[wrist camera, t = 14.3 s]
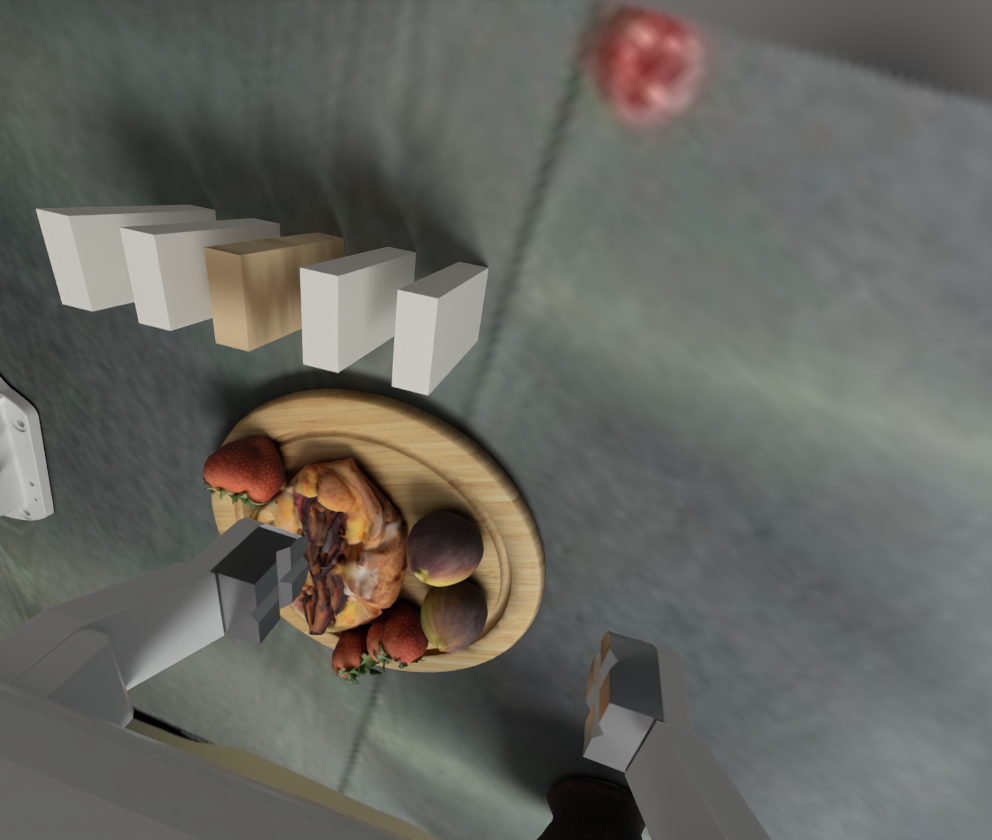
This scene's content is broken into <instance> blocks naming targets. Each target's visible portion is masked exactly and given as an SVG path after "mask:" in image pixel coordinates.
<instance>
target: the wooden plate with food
mask: <svg viewBox="0 0 992 840" xmlns="http://www.w3.org/2000/svg"><path fill="white" fill-rule="evenodd" d="M203 472H204V478H203V480H204V484H205V485H208V486H211V487H208V488H206V489H209V490H210V492H211V500H212V507H213V512H214V516H215V521H216V524H217V527H218V530H219V533H220V536H221V535H222V534H223V533H224V532H225V531H226V530H228V529H229V528H230V527H231V526H232V525H233V524H235V523H236V522H237V521H238V520H240V519H243V518H246V517H248V518H251V519H254V520H257V521H260V522H263V523H266V524H269V525H272V526H275V527H278V528H281V529H284V530H287V531H289V532H292V533H295V534H298V535H301V536H304V537H306V538H307V541H308V550H307V551H306V552H305V553H304V554H303V556H304V558H305V559H306V560H307V562H308V575H307V580H306V582H305V584H304V587H303V589H302V591H301V593H300V594H299V596H298V597H297V598H296V599H295V601H294V602H293V603H292V604H290V605H288V606H286V607H284V608H281V609H280V616H282V617H283V618H284V619H285V620H287V621H288V622H289V623H291V624H292V625H293V626H295V627H296V628H297V629H299V630H300V631H302V632H303V633H305V634H307V635H308V636H310V637H312V638H313V639H315V640H317V641H318V642H320V643H322V644H324V645H326V646H328V647H330V648H332V649H334V652H333V655H332V667H333V670H334V671H335V673H336V676H339V677H345V680H347V681H349V680H350V679H351V681H352V682H353V684H359V683H358V681H357V680H356V679H357V677H358V676H359V675H366V674H367V673H366V671H369V670H370V672H369V673H370V675H375V674H377V675H380V674H382V673H381V672H379V671H377V670H375V669H371V668H373V667H374V666H375V665H378V666H382V668H383V671H384V672H385V670H384V667H386V668H390V669H395V670H401V671H410V672H443V671H453V670H459V669H465V668H468V667H472V666H475V665H478V664H481V663H484V662H486V661H489V660H491V659H493V658H495V657H497V656H498V655H500V654H502V653H503V652H505V651H506V650H508V649H509V648H511V647H512V646H513V645H514V644H515V643H516V642H517V641H518V640H519V639H520V638H521V637H522V636H523V634H524V633H525V632H526V631H527V629H528V628H529V627H530V626H531V624H532V622H533V620H534V619H535V617H536V615H537V613H538V611H539V608H540V605H541V601H542V598H543V593H544V588H545V579H546V565H545V553H544V548H543V544H542V541H541V537H540V533H539V530H538V528H537V525H536V522H535V520H534V518H533V515H532V513H531V511H530V509H529V507H528V505H527V504H526V502H525V500H524V498H523V497H522V495H521V494H520V492H519V491H518V489H517V488H516V486H515V485H514V483H513V482H512V481H511V479H510V478H509V477H508V476H507V475H506V473H505V472H504V471H503V470H502V468H501V467H500V466H499V465H498V464H497V463H496V462H495V461H494V460H493V459H492V458H491V457H490V456H489V455H488V454H487V453H486V452H485V451H484V450H483V449H482V448H480V447H479V446H478V445H477V444H476V443H475V442H474V441H473V440H471V439H470V438H469V437H467V436H466V435H464V434H463V433H462V432H460V431H459V430H457V429H456V428H454V427H452V426H451V425H449V424H448V423H446V422H444V421H442V420H440V419H439V418H437V417H435V416H433V415H432V414H429V413H427V412H425V411H423V410H421V409H419V408H416V407H414V406H412V405H410V404H407V403H404V402H402V401H399V400H396V399H393V398H390V397H386V396H382V395H378V394H374V393H370V392H364V391H358V390H349V389H313V390H304V391H300V392H295V393H291V394H287V395H284V396H281V397H278V398H275V399H273V400H271V401H269V402H267V403H265V404H263V405H261V406H259V407H258V408H256V409H254V410H253V411H251V412H250V413H249V414H248V415H247V416H245V417H244V418H243V419H242V420H240V421H239V422H238V423H237V424H236V426H235V427H234V428H233V429H232V431H231V432H230V433H229V435H228V436H227V437H226V439H225V441H224V442H223V444H222V446H221V447H220V448H219V449H218V450H217V451H216V452H215V453H214V454H212V455H211V456H209V458H208V459H207V460H206V462H205V465H204V470H203ZM369 666H370V667H371V668H369ZM347 681H346V682H347Z"/></svg>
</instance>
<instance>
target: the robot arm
mask: <svg viewBox="0 0 992 840" xmlns="http://www.w3.org/2000/svg"><path fill="white" fill-rule="evenodd" d="M53 513H54V508H53V502H52V496H51V489H50V483H49V477H48V471H47V465H46V459H45V453H44V447H43V441H42V435H41V429H40V422H39V417H38V413H37V411H36V410H35V408H34V407H33V406H32V405H31V404H30V403H29V402H28V401H27V400H25V399H24V398H23V397H22V396H20V395H19V394H18V393H17V392H15V391H14V390H13V389H11V388H10V387H9V386H8V385H7V384H6V383H5V382H4V381H3V380H2V378H1V377H0V516H2V515H4V516H8V517H12V518H16V519H22V520H39V519H42V518H45V517H47V516H49V515H51V514H53ZM307 550H308V541H307V538H306V537H304V536H301V535H298V534H295V533H292V532H289V531H287V530H284V529H281V528H278V527H275V526H272V525H269V524H266V523H263V522H260V521H257V520H254V519H251V518H248V517H246V518H243V519H240V520H238V521H237V522H236V523H235V524H233V525H232V526H231V527H230V528H229V529H228V530H226V531H225V532H224V533H223V534H222V535H221V536H219V537H218V538H217V539H216V540H215V541H214V542H212V543H211V544H210V545H209V546H208V547H207V548H205V549H204V550H203V551H202V552H201V553H200V554H198V555H197V556H196V557H195V558H194V559H193V560H191V561H190V562H189V563H188V564H185V563H182V562H181V563H178V564H175V565H172V566H169V567H166V568H163V569H160V570H157V571H155V572H152V573H149V574H146V575H143V576H140V577H137V578H134V579H131V580H128V581H125V582H122V583H120V584H117V585H114V586H111V587H108V588H105V589H102V590H99V591H96V592H93V593H90V594H88V595H85V596H82V597H79V598H76V599H73V600H70V601H67V602H64V603H61V604H58V605H56V606H53V607H50V608H47V609H44V610H43V611H42V612H40V613H39V614H37V615H36V616H35V617H33V618H32V619H30V620H29V621H28V622H26V623H25V624H24V625H22V626H21V627H19V628H18V629H17V630H15V631H14V632H12V633H11V634H10V635H8V636H7V637H6V638H4V639H3V640H1V641H0V840H412V839H409V838H407V837H403V836H401V835H399V834H396V833H393V832H391V831H389V830H386V829H383V828H381V827H378V826H376V825H373V824H371V823H368V822H365V821H363V820H360V819H358V818H355V817H353V816H350V815H347V814H345V813H342V812H340V811H337V810H335V809H332V808H329V807H327V806H324V805H322V804H319V803H317V802H314V801H311V800H309V799H306V798H304V797H301V796H299V795H296V794H293V793H291V792H288V791H286V790H283V789H281V788H278V787H275V786H273V785H270V784H268V783H265V782H262V781H260V780H257V779H255V778H252V777H250V776H247V775H245V774H242V773H239V772H237V771H234V770H231V769H229V768H226V767H224V766H221V765H219V764H216V763H213V762H211V761H209V760H206V759H203V758H201V757H198V756H196V755H193V754H190V753H188V752H185V751H183V750H180V749H178V748H175V747H172V746H170V745H167V744H165V743H162V742H160V741H157V740H154V739H152V738H149V737H147V736H144V735H142V734H139V733H136V732H134V731H131V730H129V729H126V728H124V727H125V726H126V725H127V724H128V723H129V721H130V720H131V719H132V718H133V708H132V705H131V702H130V699H129V696H128V693H127V690H129V689H130V688H132V687H134V686H136V685H137V684H139V683H141V682H143V681H145V680H146V679H148V678H150V677H152V676H153V675H155V674H157V673H159V672H160V671H162V670H164V669H166V668H167V667H169V666H171V665H173V664H174V663H176V662H178V661H180V660H182V659H183V658H185V657H187V656H189V655H190V654H192V653H194V652H196V651H197V650H199V649H201V648H203V647H204V646H206V645H208V644H210V643H212V642H213V641H215V640H217V639H219V638H220V637H222V636H224V633H227V634H230V635H233V636H236V637H239V638H243V639H246V640H249V641H252V642H255V643H258V644H261V642H262V641H263V640H264V639H265V637H266V636H267V635H268V634H269V632H270V631H271V630H272V629H273V627H274V626H275V625H276V624H277V622H278V621H279V620H280V609H281V608H284V607H286V606H288V605H290V604H292V603H293V602H294V601H295V599H296V598H297V597H298V596H299V594H300V593H301V591H302V589H303V587H304V584H305V582H306V580H307V575H308V562H307V560H306V559H305V558H304V556H303V554H304V553H305V552H306V551H307ZM586 702H587V704H588V706H589V708H590V712H589V714H588V717H587V719H586V721H585V729H584V750H583V757H585V758H588V759H591V760H593V761H596V762H598V763H601V764H604V765H606V766H609V767H612V768H614V769H617V770H620V771H622V772H625V777H626V780H627V782H628V784H629V787H630V789H631V791H632V794H633V796H634V798H635V801H636V803H637V806H638V808H639V810H640V813H641V815H642V817H643V820H644V822H645V824H646V827H647V829H648V832H649V834H650V836H651V839H652V840H771V839H770V837H769V836H768V834H767V833H766V831H765V830H764V828H763V827H762V825H761V824H760V822H759V821H758V819H757V818H756V816H755V815H754V813H753V812H752V810H751V809H750V807H749V806H748V804H747V803H746V801H745V800H744V798H743V797H742V795H741V794H740V792H739V791H738V790H737V788H736V787H735V785H734V784H733V782H732V781H731V779H730V778H729V776H728V775H727V773H726V772H725V770H724V769H723V767H722V766H721V764H720V763H719V761H718V760H717V758H716V757H715V755H714V754H713V752H712V751H711V749H710V748H709V746H708V745H707V743H706V742H705V740H704V739H703V737H702V736H701V735H699V734H696V733H694V732H693V726H692V720H691V713H690V707H689V700H688V694H687V688H686V681H685V675H684V668H683V662H682V657H681V656H680V654H679V653H678V652H675V651H671V650H668V649H665V648H662V647H658V646H653V644H650V643H646V642H643V641H640V640H636V639H633V638H630V637H626V636H623V635H620V634H616V633H613V632H610V631H607V632H606V633H605V634H604V636H603V639H602V641H601V653H599V654H597V655H595V657H594V660H593V662H592V665H591V669H590V673H589V677H588V683H587V693H586Z"/></svg>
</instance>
